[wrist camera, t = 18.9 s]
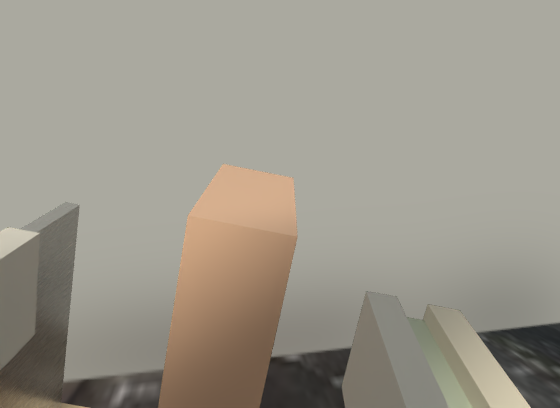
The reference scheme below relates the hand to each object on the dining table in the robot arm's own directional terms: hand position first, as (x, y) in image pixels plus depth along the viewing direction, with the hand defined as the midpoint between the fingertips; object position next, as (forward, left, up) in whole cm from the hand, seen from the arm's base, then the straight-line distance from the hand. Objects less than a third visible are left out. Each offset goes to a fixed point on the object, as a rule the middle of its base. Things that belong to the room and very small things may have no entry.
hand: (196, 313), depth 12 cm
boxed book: (0, -11, -18) cm, 21 cm away
